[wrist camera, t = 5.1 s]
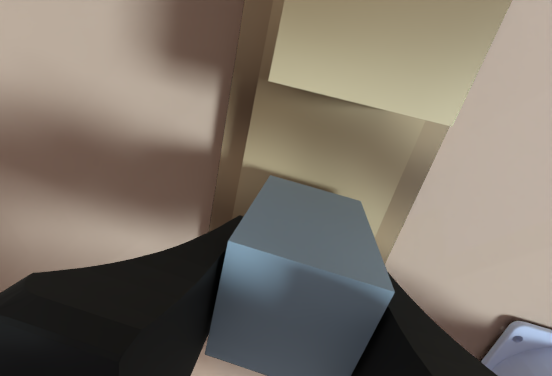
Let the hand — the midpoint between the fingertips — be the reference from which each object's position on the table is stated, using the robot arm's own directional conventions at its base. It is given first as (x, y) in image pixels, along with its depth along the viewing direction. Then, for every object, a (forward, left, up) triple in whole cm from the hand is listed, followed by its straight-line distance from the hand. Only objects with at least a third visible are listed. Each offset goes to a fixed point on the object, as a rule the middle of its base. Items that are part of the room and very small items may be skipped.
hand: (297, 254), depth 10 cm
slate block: (0, 0, -2) cm, 2 cm away
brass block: (+8, 0, -3) cm, 8 cm away
